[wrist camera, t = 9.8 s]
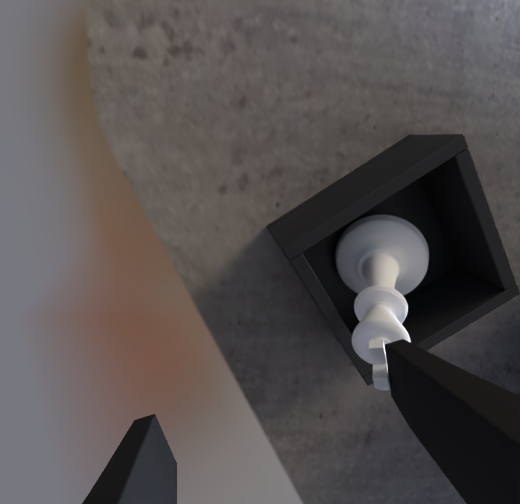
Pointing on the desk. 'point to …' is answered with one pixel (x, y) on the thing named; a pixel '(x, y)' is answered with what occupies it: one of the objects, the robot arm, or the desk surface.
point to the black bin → (425, 220)
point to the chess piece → (381, 283)
